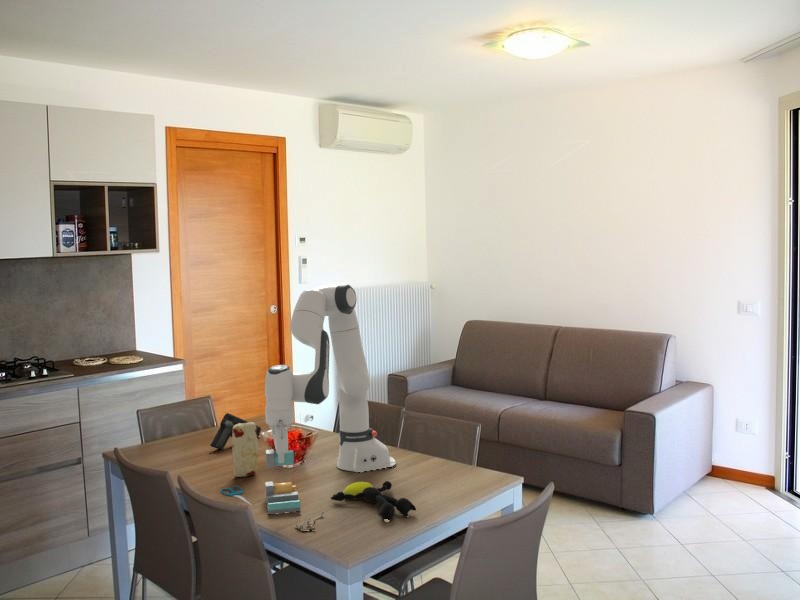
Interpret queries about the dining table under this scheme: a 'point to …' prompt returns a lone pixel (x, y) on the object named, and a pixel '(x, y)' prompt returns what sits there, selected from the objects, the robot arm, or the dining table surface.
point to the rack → (283, 502)
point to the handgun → (227, 430)
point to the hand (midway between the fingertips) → (280, 459)
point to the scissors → (235, 493)
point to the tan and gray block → (277, 488)
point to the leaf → (308, 524)
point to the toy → (376, 498)
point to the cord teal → (273, 458)
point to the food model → (244, 449)
